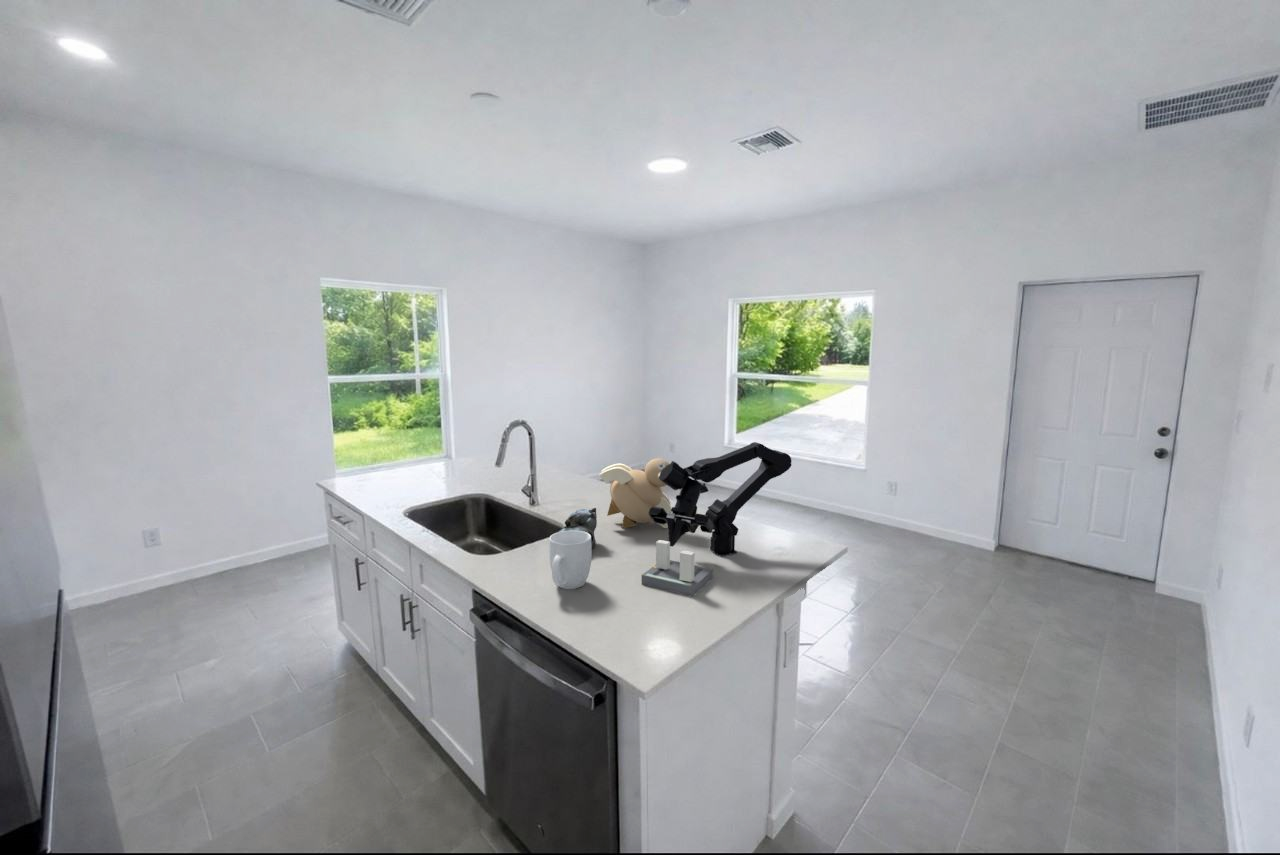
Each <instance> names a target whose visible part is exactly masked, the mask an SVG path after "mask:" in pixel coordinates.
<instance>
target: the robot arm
mask: <svg viewBox="0 0 1280 855" xmlns="http://www.w3.org/2000/svg"><path fill="white" fill-rule="evenodd" d="M757 458H758V459H760V460H761V461H760V463H759V466H758V468H757V469H756V470H755V471H754V473H753V474H752V475H750V477H748V478H747V479H746V480H745V481H744V482H743V483H742V484H741V485H740V486H739V487H738V488H737V489H736V490H735V491H734V492H733V493H732V494H731V495H729V497H727V499H726V498H725V500H720V499H715V500H714V502H713V503H712V504H711V505H710V506H707V510H706V512H705V514H702V513H697V510H698V506H697V504H698V500H699V498H700V495H701V494H704V493H708V492H709V489H708V487H707V485H706V483H708V484H709V483H712V482H713V481H715V480H716V479H718V478H720V477H721V476H722V475H723V474H724V473H725V472H726V471H727V470H730V469H733V468H735V467H739V465H742V464H745V463H747V462H749V461H752V460H754V459H757ZM791 467H792V457H791V456H790V455H789V454H788V453H786V452H783V451H779V450H776V449H771V448H769V447H767V446H766V445H764V444H762V443H759V442H757V441H756V442H755V441H754V442H751V443H750V444H747V445H746V446H745V445H744V446H743V447H740V448H738V449H735V450H733V451H730V452H728V453H725V454H722V455H720V456H718V457H707V458H702V459H697V460H696V461H695V462H693V464H692V465H689V466H687V467H684V468H683V467H681V465H679V464H678V463H677V462H676V461H674V460H673V461H672V460H671V462H670V464H669V465H667V466H666V467H665V468H663V470H662V471H661V473H660V476H659V479H660V480H661V481H662V482H664V483H665V484H666V486H668V487H669V488H671V489H672V490H674V491H677V490H680V492H679V494H677V495H676V496H675V499H676V503H675V505H674V506H672V507H671V511H672V513H666V512H665V510H664V509H663V508H660V507H654V506H653V507H651V508H650V510H649V512H648V514H649V516H650V517H651V519H652V520H651V521H652V522H654V523H655V524H658V525H659V524H663V525H664V524H666V523H667V524H668V527H667V530H668V531H667V532H668V542H670V547H673V548H674V546H675V545H676V544H677V542H678V541H679V540H680V539H681V537H683V536H684V535H685V534H686V533H691V534H695V533H696V531H697V529H698V527H699V528H700V530H701V532H703V533H709V534H711V536H710V547H709V548H710V549H711V550H712V552H713V551H714V552H715V553H714V552H713V553H714V554H715V555H717V554H718V555H722V556H727V555H726V554H728V555H734V554H733V553H735V554H738V551H737V550H736V549H735V548H736V547H735V546H736V543H735V542H736V539H735V538H736V536H737V535H738V532H739V528H738V527H737V526H736V525H735V524H734V521H735V519H736V518H737V515H738V512H739V511H740V509H741V508H743V506H745V504H746V503H747V502H749V501H750V499H752V498H753V497H754V496H755V495H756V494H757V493H758V492H759V491H760V490H761V489H762V488H763V487H764V486H765V485H766V484H767V483H768V482H769V481H770V480H771V479H772V480H773V479H775V478H777V477H779V476H783V474H785V473H786V472H787V471H789V469H790V468H791ZM700 481H702V482H704V483H701V482H700ZM710 549H709V550H710ZM711 550H710V551H711ZM718 555H717V556H718Z"/></svg>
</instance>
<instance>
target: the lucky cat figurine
mask: <svg viewBox="0 0 1280 855" xmlns="http://www.w3.org/2000/svg"><path fill="white" fill-rule="evenodd" d="M564 525H565V526H563V527H562V529H560V530H559V531H558V532H561V531H569V530H576V531H584V532H587V533H589V534H590V535H591V545H592V548H591V550H592V549H594V548H595V547H596V544H597V541H596V537H595V530H596V528H597V525H598V519H597V508H596V507H594V508H591V509H588V508H581V509H576V510H575V511H574V512H572V513H571V514H570V515H569V516H568V517H567V518H566V519H565V521H564Z"/></svg>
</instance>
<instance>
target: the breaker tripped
mask: <svg viewBox="0 0 1280 855" xmlns="http://www.w3.org/2000/svg"><path fill="white" fill-rule="evenodd" d="M670 560H671V546H670V542H669V540H668V541H667V540H663V539H659V540H657V541H656V542H655V565H656V568H661V569H665V570H667V569H668V568H670Z"/></svg>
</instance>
